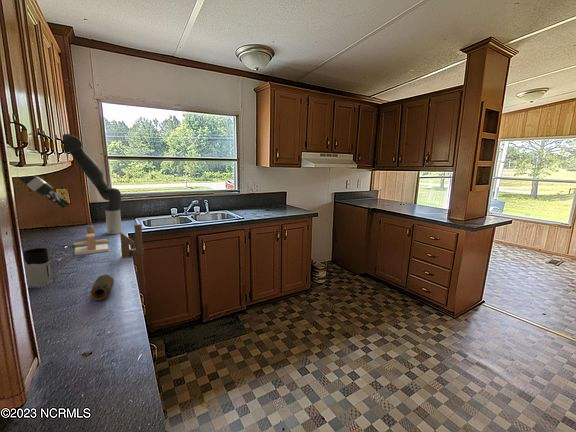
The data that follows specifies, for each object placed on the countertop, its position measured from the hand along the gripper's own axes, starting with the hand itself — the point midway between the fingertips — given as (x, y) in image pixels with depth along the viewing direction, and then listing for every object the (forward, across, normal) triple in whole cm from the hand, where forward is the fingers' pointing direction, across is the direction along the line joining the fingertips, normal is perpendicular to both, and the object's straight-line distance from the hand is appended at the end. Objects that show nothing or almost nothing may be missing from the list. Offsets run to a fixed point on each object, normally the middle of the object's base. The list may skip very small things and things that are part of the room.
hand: (66, 205), depth 167 cm
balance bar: (+26, 0, +10) cm, 27 cm away
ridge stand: (+27, -16, +8) cm, 32 cm away
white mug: (+20, -62, +16) cm, 67 cm away
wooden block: (+42, -35, -7) cm, 55 cm away
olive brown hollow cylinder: (+35, -82, +1) cm, 90 cm away
